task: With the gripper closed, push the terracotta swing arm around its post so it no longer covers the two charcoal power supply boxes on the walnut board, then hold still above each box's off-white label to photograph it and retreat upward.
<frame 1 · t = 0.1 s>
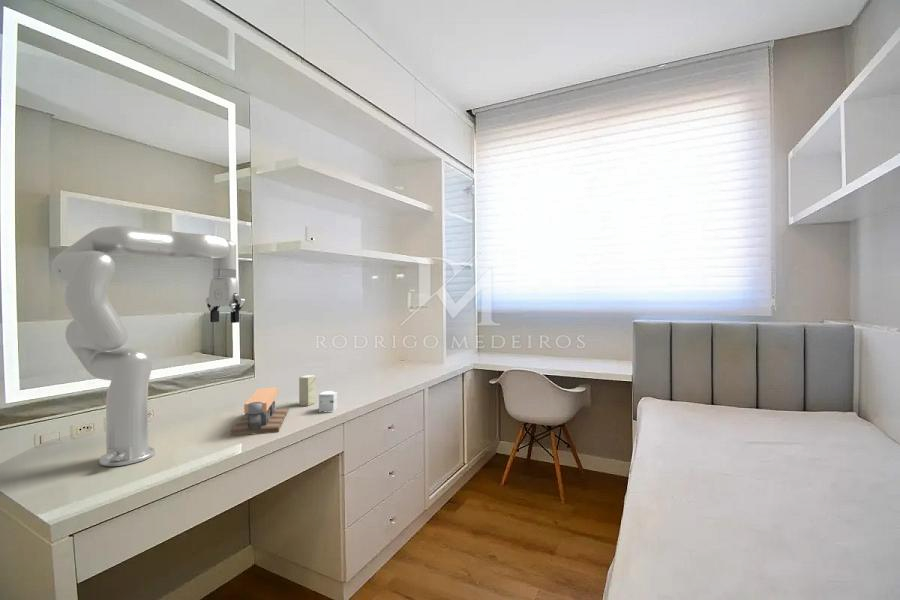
hand: (224, 322, 149), 37 cm above the table, tool pointing down, fingers open, 9 cm apart
swing arm: (261, 399, 152), point 8 cm above the table, hinge at 0.0°
skincare box: (328, 410, 169), on the table
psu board: (262, 422, 153), on the table
skincare box 2: (307, 404, 179), on the table
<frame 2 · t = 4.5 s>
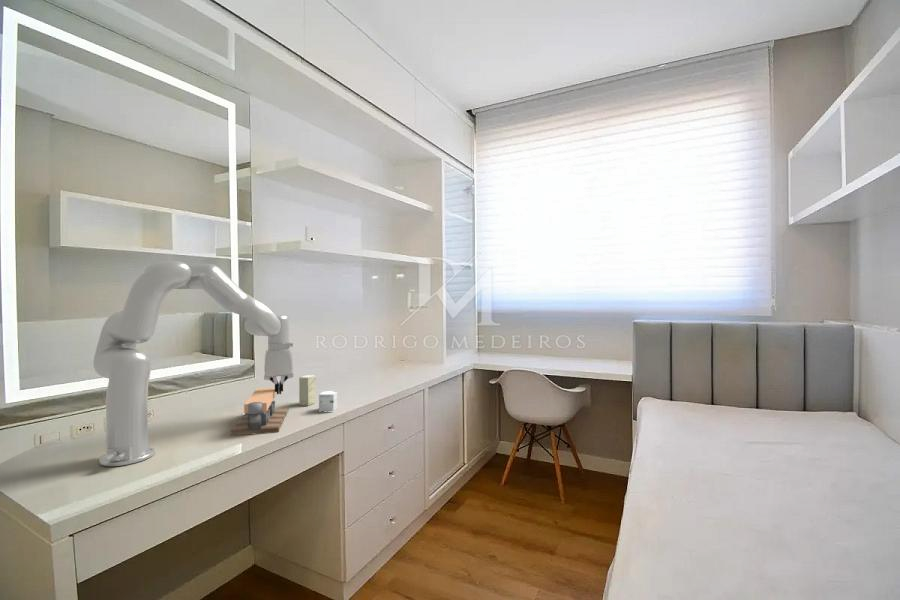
hand: (278, 393, 162), 9 cm above the table, tool pointing down, fingers closed
swing arm: (260, 399, 152), point 9 cm above the table, hinge at 1.7°, touching gripper
everything else where it was.
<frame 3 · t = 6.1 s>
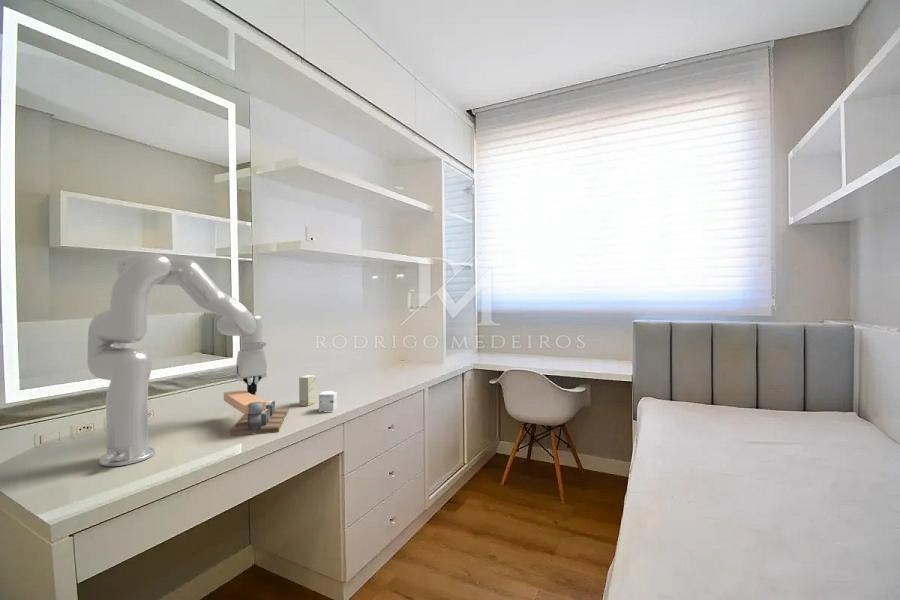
hand: (252, 394, 159), 9 cm above the table, tool pointing down, fingers closed
swing arm: (244, 401, 149), point 8 cm above the table, hinge at 28.6°, touching gripper
everything else where it was.
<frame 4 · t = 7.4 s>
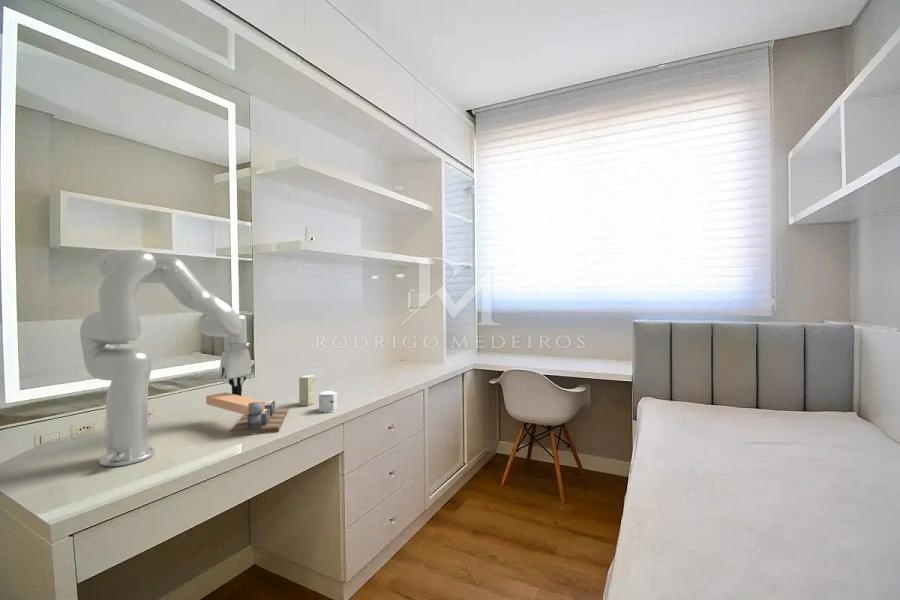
hand: (236, 395, 156), 9 cm above the table, tool pointing down, fingers closed
swing arm: (236, 403, 147), point 9 cm above the table, hinge at 43.2°, touching gripper
everything else where it was.
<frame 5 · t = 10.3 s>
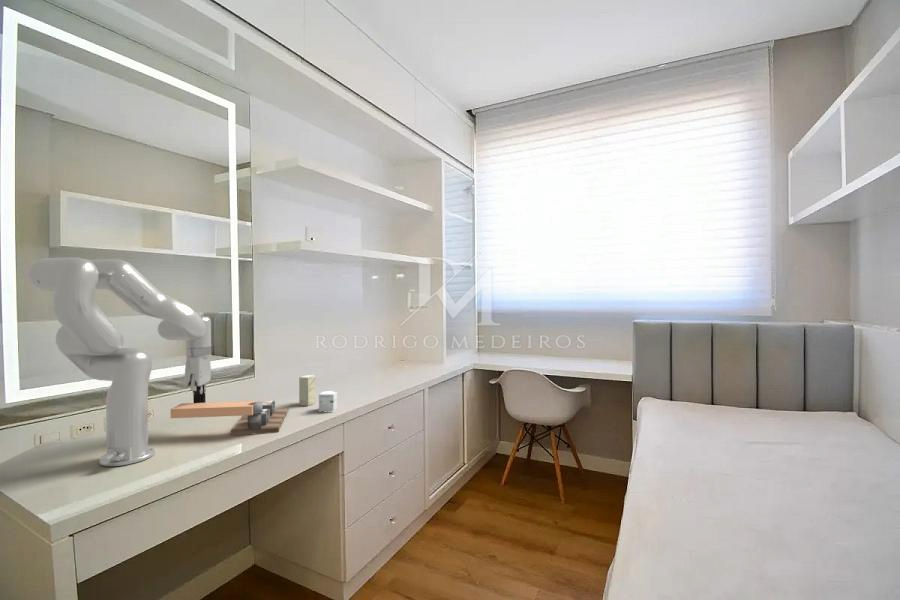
hand: (199, 404, 143), 9 cm above the table, tool pointing down, fingers closed
swing arm: (219, 409, 140), point 8 cm above the table, hinge at 83.9°, touching gripper
everything else where it was.
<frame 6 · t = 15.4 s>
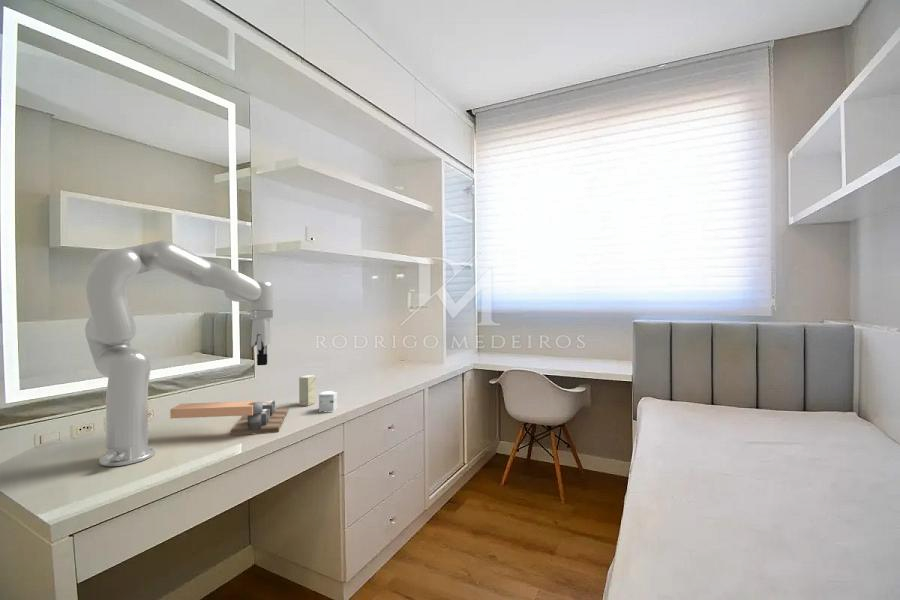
hand: (262, 364, 152), 21 cm above the table, tool pointing down, fingers closed
swing arm: (219, 409, 139), point 8 cm above the table, hinge at 84.2°
everything else where it was.
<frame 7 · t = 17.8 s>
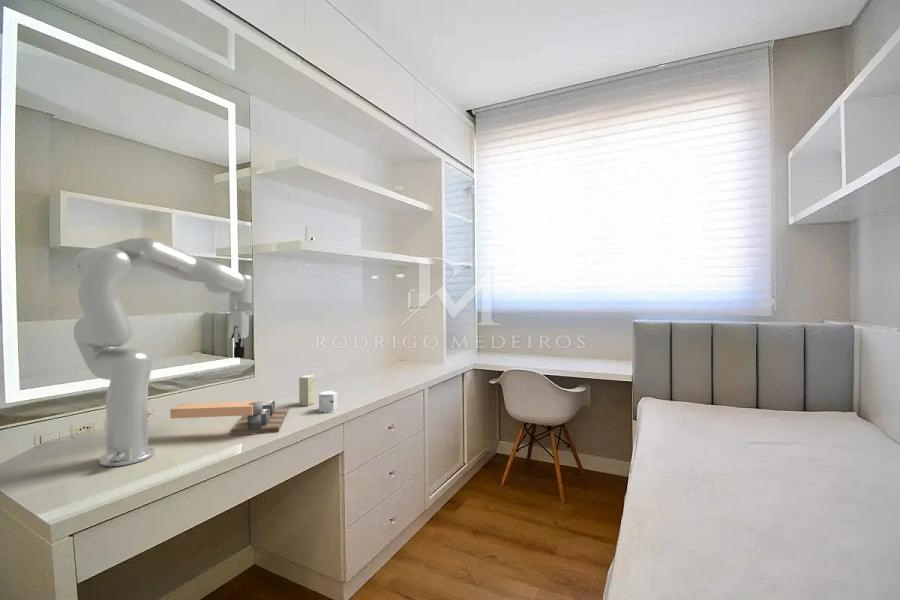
hand: (239, 357, 153), 24 cm above the table, tool pointing down, fingers closed
nothing on the table moved.
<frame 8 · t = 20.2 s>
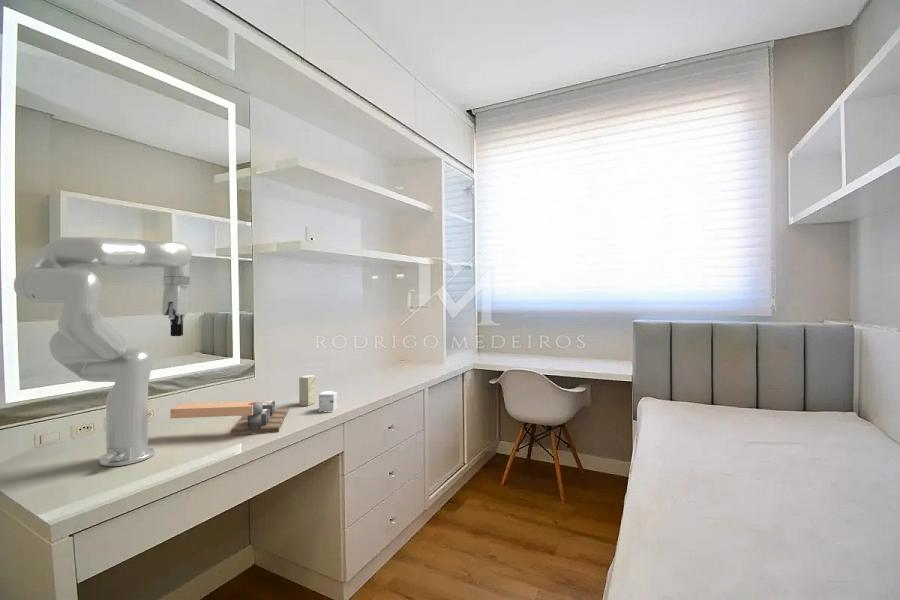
hand: (176, 335, 141), 33 cm above the table, tool pointing down, fingers closed
nothing on the table moved.
at the end: swing arm at +84° (first picture: +0°) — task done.
